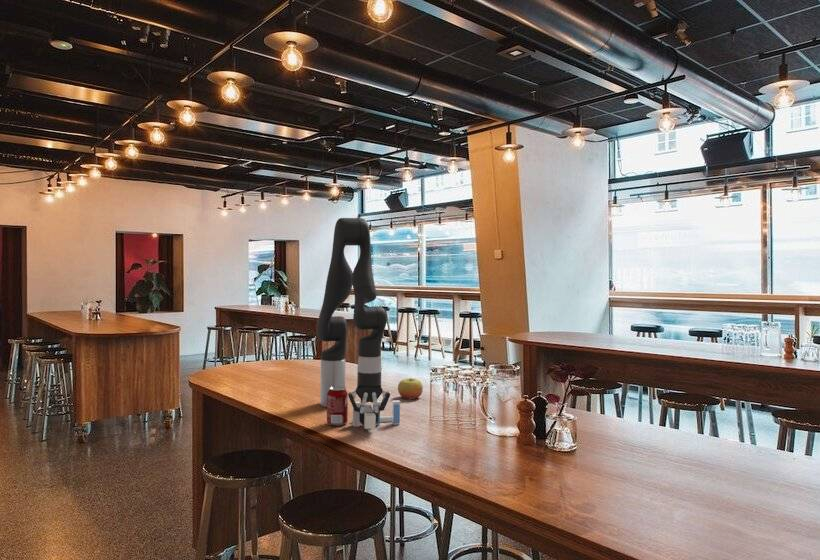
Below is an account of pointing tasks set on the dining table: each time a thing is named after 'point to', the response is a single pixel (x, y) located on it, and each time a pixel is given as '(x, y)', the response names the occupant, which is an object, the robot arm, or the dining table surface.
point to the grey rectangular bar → (369, 417)
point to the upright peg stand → (394, 418)
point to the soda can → (337, 406)
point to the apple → (410, 388)
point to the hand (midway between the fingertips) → (368, 423)
